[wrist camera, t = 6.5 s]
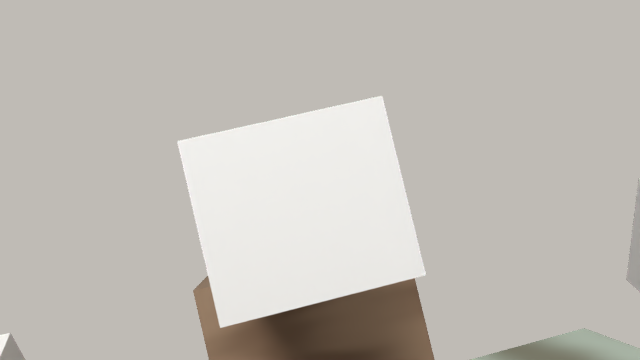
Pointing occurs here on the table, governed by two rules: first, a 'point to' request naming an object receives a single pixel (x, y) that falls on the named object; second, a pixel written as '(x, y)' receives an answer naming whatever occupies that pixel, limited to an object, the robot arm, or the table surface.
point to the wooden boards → (370, 332)
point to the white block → (300, 210)
